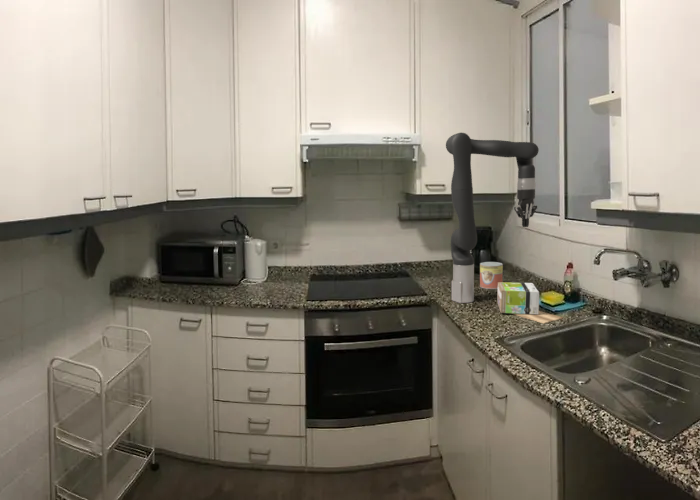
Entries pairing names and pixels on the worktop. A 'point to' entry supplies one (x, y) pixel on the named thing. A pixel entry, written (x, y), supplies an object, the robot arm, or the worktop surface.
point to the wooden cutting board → (540, 317)
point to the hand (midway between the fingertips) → (525, 226)
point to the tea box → (518, 298)
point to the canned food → (490, 274)
